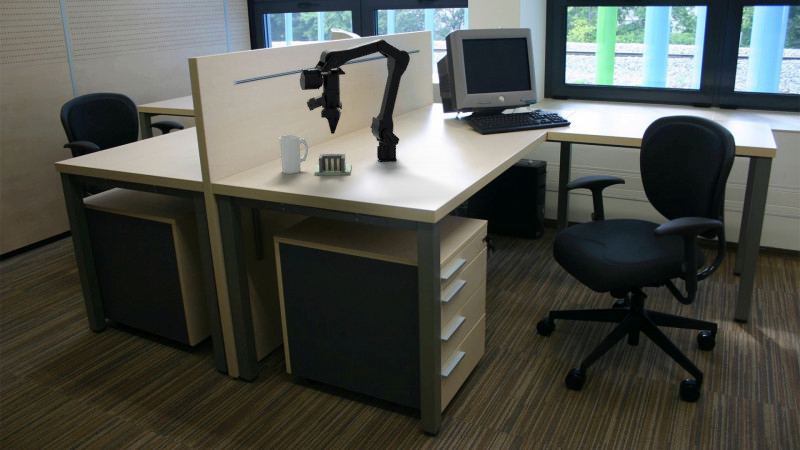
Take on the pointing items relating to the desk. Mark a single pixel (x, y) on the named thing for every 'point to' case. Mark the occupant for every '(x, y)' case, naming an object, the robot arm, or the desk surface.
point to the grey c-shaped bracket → (329, 157)
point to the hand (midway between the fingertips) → (332, 133)
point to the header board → (332, 171)
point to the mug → (292, 153)
